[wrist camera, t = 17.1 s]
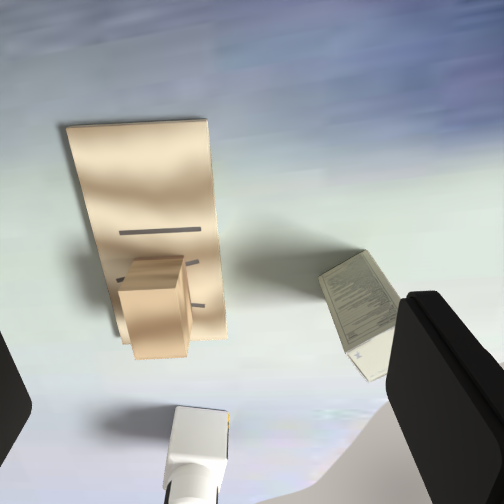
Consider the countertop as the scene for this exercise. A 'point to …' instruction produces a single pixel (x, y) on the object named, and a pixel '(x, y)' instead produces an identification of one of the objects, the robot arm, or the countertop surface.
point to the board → (154, 208)
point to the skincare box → (362, 312)
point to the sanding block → (157, 307)
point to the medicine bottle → (196, 456)
